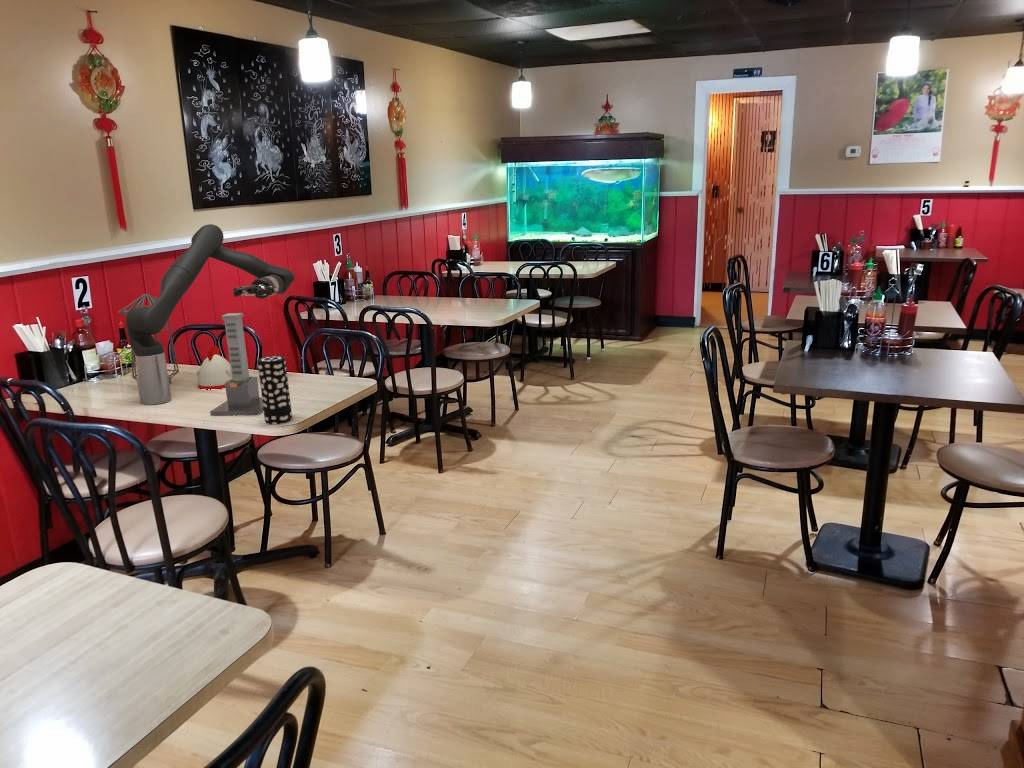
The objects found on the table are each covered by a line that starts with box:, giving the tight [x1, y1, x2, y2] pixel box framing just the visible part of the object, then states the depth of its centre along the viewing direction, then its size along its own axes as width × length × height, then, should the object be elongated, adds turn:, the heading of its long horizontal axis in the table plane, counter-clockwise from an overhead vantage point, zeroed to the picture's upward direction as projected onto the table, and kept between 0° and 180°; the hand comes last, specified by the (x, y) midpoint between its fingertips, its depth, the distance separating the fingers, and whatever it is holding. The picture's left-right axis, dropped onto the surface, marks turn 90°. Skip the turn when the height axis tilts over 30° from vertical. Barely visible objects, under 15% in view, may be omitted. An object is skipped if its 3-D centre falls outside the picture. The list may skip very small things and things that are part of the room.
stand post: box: [221, 312, 250, 382], centre depth 249 cm, size 5×5×23 cm
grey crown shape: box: [196, 345, 232, 391], centre depth 284 cm, size 14×14×15 cm
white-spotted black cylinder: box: [257, 355, 293, 425], centre depth 238 cm, size 8×8×20 cm
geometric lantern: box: [118, 293, 180, 385], centre depth 283 cm, size 16×16×35 cm
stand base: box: [209, 376, 264, 417], centre depth 253 cm, size 16×16×10 cm
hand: (246, 293), depth 270 cm, fingers open, 8 cm apart
